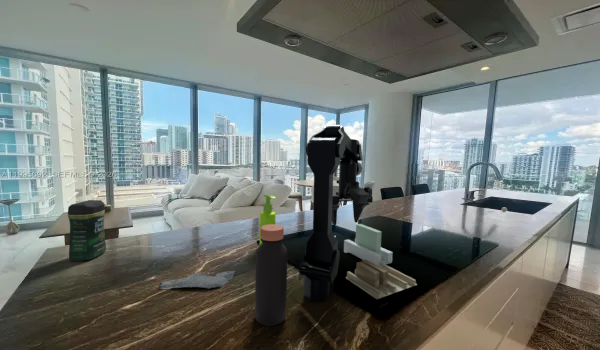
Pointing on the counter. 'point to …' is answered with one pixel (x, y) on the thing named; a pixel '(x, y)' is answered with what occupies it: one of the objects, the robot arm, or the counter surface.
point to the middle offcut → (383, 273)
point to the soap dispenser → (267, 213)
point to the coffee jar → (86, 230)
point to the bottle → (271, 276)
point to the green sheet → (368, 237)
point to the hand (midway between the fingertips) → (345, 223)
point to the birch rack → (394, 283)
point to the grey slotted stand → (368, 253)
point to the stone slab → (199, 281)
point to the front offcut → (368, 274)
